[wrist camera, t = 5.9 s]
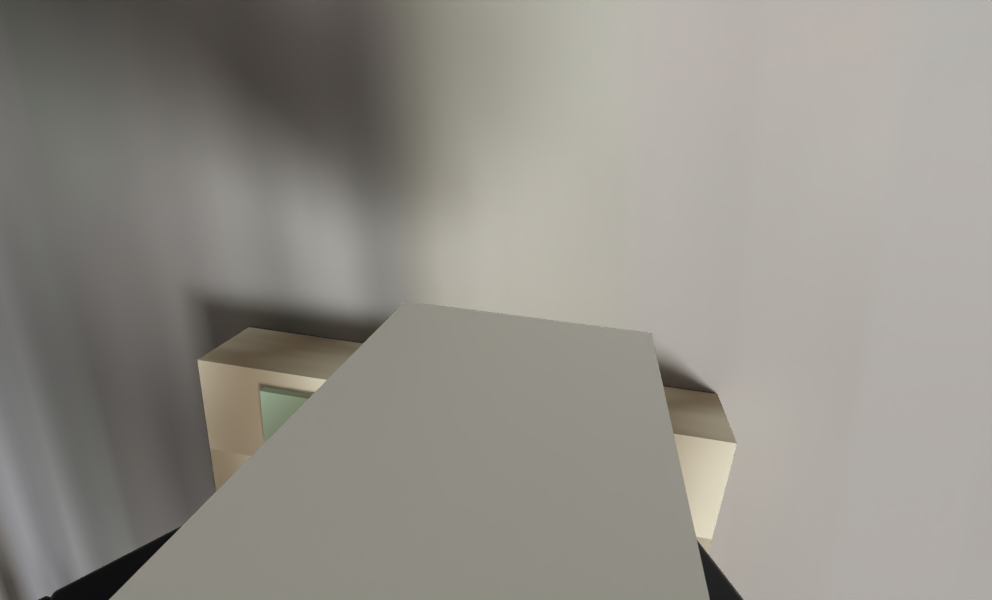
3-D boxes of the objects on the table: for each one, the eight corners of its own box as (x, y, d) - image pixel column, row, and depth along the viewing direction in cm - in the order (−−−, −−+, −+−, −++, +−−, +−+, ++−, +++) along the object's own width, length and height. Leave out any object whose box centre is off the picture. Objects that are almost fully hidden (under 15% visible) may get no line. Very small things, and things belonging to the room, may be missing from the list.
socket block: (717, 394, 19) (739, 449, 16) (655, 654, 24) (663, 736, 21) (249, 327, 22) (191, 363, 19) (274, 573, 26) (231, 634, 23)
